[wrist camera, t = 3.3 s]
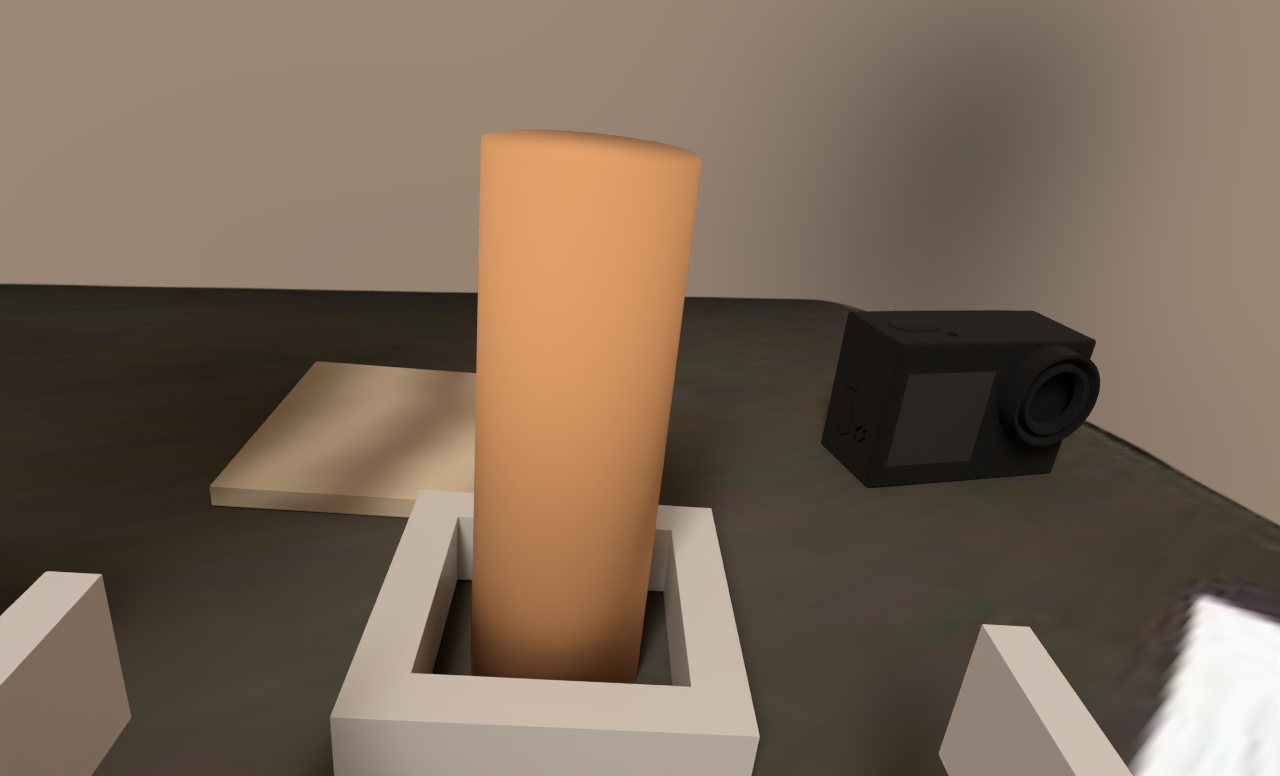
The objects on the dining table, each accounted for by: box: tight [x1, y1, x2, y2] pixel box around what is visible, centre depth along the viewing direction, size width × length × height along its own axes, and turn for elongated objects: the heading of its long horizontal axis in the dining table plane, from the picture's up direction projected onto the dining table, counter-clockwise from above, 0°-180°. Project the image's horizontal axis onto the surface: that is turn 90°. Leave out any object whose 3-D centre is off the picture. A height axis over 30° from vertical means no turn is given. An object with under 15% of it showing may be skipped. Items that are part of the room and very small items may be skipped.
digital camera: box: [821, 310, 1100, 488], centre depth 38 cm, size 10×5×7 cm, turn 108°
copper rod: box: [471, 130, 702, 684], centre depth 22 cm, size 5×5×15 cm
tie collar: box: [330, 490, 760, 776], centre depth 24 cm, size 10×10×2 cm
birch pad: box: [209, 361, 476, 518], centre depth 36 cm, size 12×12×1 cm
